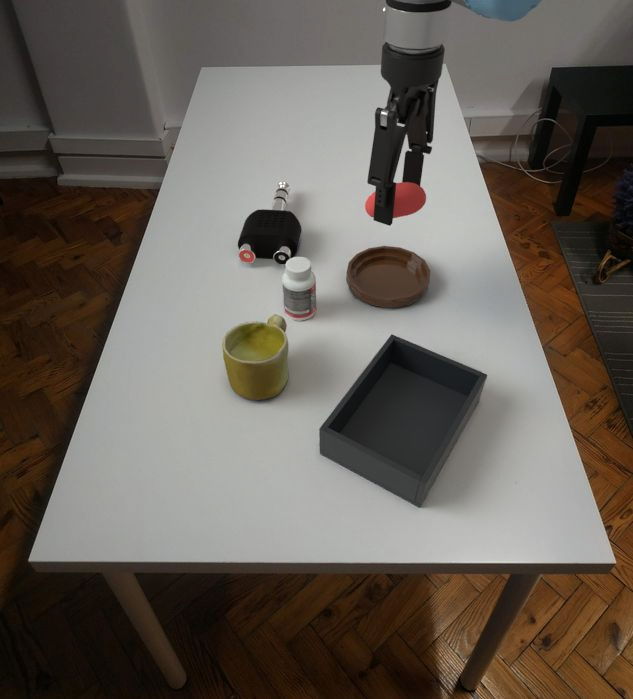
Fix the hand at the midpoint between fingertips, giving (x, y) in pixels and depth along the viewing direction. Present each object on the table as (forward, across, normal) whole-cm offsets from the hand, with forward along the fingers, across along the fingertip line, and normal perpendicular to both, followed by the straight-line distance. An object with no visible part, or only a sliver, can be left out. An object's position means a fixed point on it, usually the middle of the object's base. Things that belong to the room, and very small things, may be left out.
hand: (396, 206), depth 83 cm
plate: (+17, -2, -1) cm, 17 cm away
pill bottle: (+17, +12, -10) cm, 23 cm away
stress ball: (+1, 0, 0) cm, 1 cm away
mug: (+17, +26, -7) cm, 32 cm away
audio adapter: (+17, -5, -27) cm, 33 cm away
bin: (+17, +24, +15) cm, 33 cm away
